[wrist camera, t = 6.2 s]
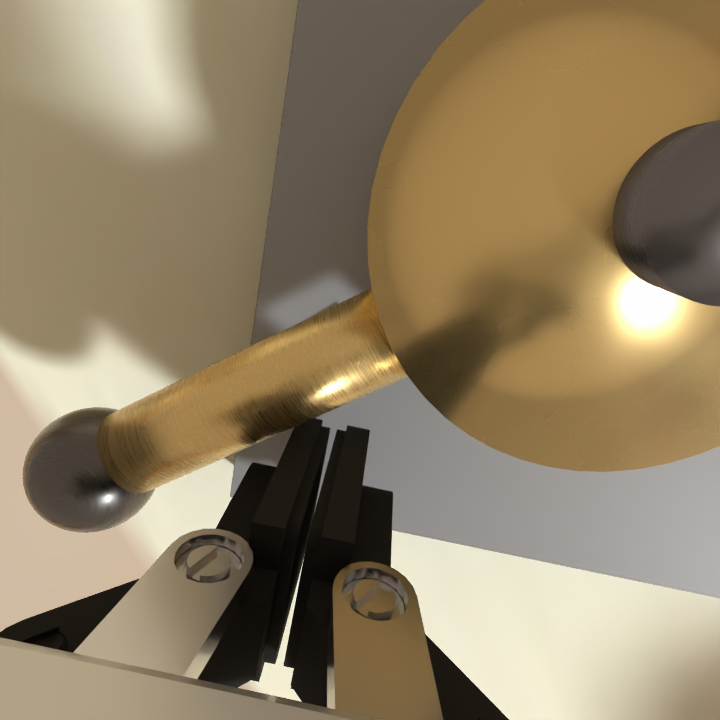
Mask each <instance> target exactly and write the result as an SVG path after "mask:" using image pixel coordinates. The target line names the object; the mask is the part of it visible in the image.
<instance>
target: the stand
mask: <svg viewBox="0 0 720 720" xmlns="http://www.w3.org/2000/svg"><path fill="white" fill-rule="evenodd" d="M484 1H485V0H298V7H297V14H296V22H295V29H294V36H293V43H292V51H291V58H290V65H289V72H288V80H287V87H286V94H285V101H284V109H283V116H282V123H281V130H280V138H279V145H278V152H277V159H276V167H275V174H274V181H273V188H272V196H271V203H270V210H269V217H268V225H267V232H266V239H265V246H264V254H263V261H262V268H261V275H260V283H259V290H258V297H257V304H256V312H255V319H254V326H253V333H252V341H251V346H252V345H254V344H256V343H258V342H260V341H262V340H265V339H267V338H269V337H271V336H273V335H275V334H277V333H279V332H281V331H283V330H285V329H287V328H289V327H291V326H293V325H296V324H298V323H300V322H302V321H304V320H306V319H308V318H310V317H312V316H314V315H316V314H318V313H320V312H322V311H324V310H327V309H329V308H331V307H333V306H335V305H337V304H339V303H341V302H343V301H345V300H347V299H349V298H351V297H353V296H356V295H358V294H360V293H362V292H364V291H366V290H368V289H370V288H371V281H370V273H369V266H368V245H367V224H368V216H369V208H370V200H371V192H372V187H373V183H374V179H375V175H376V171H377V167H378V163H379V159H380V155H381V152H382V149H383V147H384V144H385V142H386V139H387V137H388V134H389V132H390V129H391V126H392V124H393V121H394V119H395V116H396V115H397V113H398V111H399V109H400V107H401V105H402V103H403V102H404V100H405V98H406V96H407V94H408V92H409V90H410V89H411V87H412V85H413V83H414V81H415V80H416V78H417V77H418V76H419V74H420V73H421V71H422V70H423V68H424V67H425V66H426V64H427V63H428V61H429V60H430V59H431V57H432V56H433V54H434V53H435V51H436V50H437V49H438V47H439V46H440V45H441V44H442V43H443V42H444V41H445V40H446V39H447V37H448V36H449V35H450V34H451V33H452V32H453V31H454V30H455V29H456V27H457V26H458V25H459V24H460V23H461V22H462V21H463V20H464V19H465V18H466V16H468V15H469V14H470V13H471V12H472V11H473V10H475V9H476V8H477V7H478V6H479V5H480V4H481V3H483V2H484ZM316 419H320V420H323V423H322V426H324V427H329V428H330V434H329V439H328V444H327V449H326V455H325V460H324V465H323V470H322V475H321V481H320V486H319V491H318V496H317V502H318V498H319V494H320V490H321V487H322V483H323V479H324V476H325V472H326V468H327V465H328V461H329V457H330V454H331V450H332V446H333V442H334V439H335V435H336V431H337V429H338V430H343V431H346V429H347V425H349V426H354V427H359V428H363V429H368V430H370V434H369V442H368V449H367V456H366V463H365V470H364V478H363V485H364V486H369V487H373V488H378V489H383V490H388V491H392V492H393V513H392V530H394V531H399V532H404V533H408V534H413V535H418V536H423V537H428V538H432V539H437V540H442V541H447V542H452V543H456V544H461V545H466V546H471V547H476V548H481V549H485V550H490V551H495V552H500V553H505V554H509V555H514V556H519V557H524V558H529V559H534V560H538V561H543V562H548V563H553V564H558V565H562V566H567V567H572V568H577V569H582V570H587V571H591V572H596V573H601V574H606V575H611V576H615V577H620V578H625V579H630V580H635V581H639V582H644V583H649V584H654V585H659V586H664V587H668V588H673V589H678V590H683V591H688V592H692V593H697V594H702V595H707V596H712V597H717V598H720V446H718V447H716V448H713V449H711V450H708V451H706V452H704V453H701V454H698V455H695V456H692V457H688V458H685V459H682V460H679V461H675V462H672V463H668V464H663V465H658V466H653V467H648V468H643V469H636V470H624V471H612V472H594V471H574V470H566V469H559V468H552V467H547V466H543V465H539V464H535V463H532V462H528V461H524V460H520V459H518V458H515V457H513V456H510V455H508V454H505V453H503V452H500V451H498V450H495V449H493V448H491V447H489V446H488V445H486V444H484V443H482V442H480V441H479V440H477V439H475V438H473V437H471V436H470V435H468V434H467V433H465V432H464V431H463V430H461V429H460V428H458V427H457V426H456V425H454V424H453V423H452V422H450V421H449V420H448V419H446V418H445V417H444V416H443V415H442V414H441V413H440V412H439V411H438V410H437V409H436V408H435V407H434V406H433V405H432V404H431V403H430V402H429V401H428V400H427V399H425V397H424V396H423V395H422V394H421V392H420V391H419V390H418V389H417V387H416V386H415V385H414V383H413V382H412V381H411V380H410V378H409V377H407V378H405V379H402V380H400V381H398V382H395V383H393V384H391V385H389V386H386V387H384V388H382V389H380V390H377V391H375V392H373V393H370V394H368V395H366V396H364V397H361V398H359V399H357V400H355V401H352V402H350V403H348V404H345V405H343V406H341V407H339V408H336V409H334V410H332V411H330V412H327V413H325V414H323V415H320V416H318V417H316ZM293 429H294V427H293V428H291V429H289V430H286V431H284V432H282V433H279V434H277V435H275V436H273V437H270V438H268V439H266V440H264V441H261V442H259V443H257V444H254V445H252V446H250V447H248V448H245V449H243V450H241V451H239V452H236V457H235V464H234V471H233V478H232V486H231V493H230V497H233V496H234V494H235V492H236V490H237V488H238V487H239V485H240V483H241V481H242V479H243V477H244V476H245V474H246V472H247V470H248V468H249V466H250V465H251V463H253V462H255V463H260V464H265V465H269V466H274V467H277V465H278V462H279V460H280V458H281V456H282V453H283V451H284V449H285V447H286V445H287V442H288V440H289V438H290V436H291V433H292V431H293ZM317 502H316V505H317ZM315 509H316V507H315ZM314 513H315V512H314Z"/></svg>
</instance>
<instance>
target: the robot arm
mask: <svg viewBox="0 0 720 720" xmlns="http://www.w3.org/2000/svg"><path fill="white" fill-rule="evenodd" d="M322 423H323V420H320V419H316V418H314V419H311V420H309V421H307V422H305V423H302V424H300V425H298V426H295V427H294V429H293V431H292V433H291V436H290V438H289V440H288V442H287V445H286V447H285V449H284V451H283V453H282V456H281V458H280V460H279V462H278V465H277V467H274V466H269V465H265V464H260V463H255V462H253V463H251V465H250V466H249V468H248V470H247V472H246V474H245V476H244V477H243V479H242V481H241V483H240V485H239V487H238V488H237V490H236V492H235V494H234V496H233V498H232V500H231V501H230V503H229V505H228V507H227V509H226V511H225V512H224V514H223V516H222V518H221V520H220V522H219V524H218V525H217V527H216V529H201V530H196V531H192V532H189V533H187V534H185V535H183V536H181V537H179V538H178V539H177V540H176V541H174V542H173V543H172V544H171V545H170V546H169V547H168V548H167V549H166V550H165V551H164V553H163V554H162V555H161V556H160V557H159V558H158V559H157V560H156V561H155V563H154V564H153V565H152V566H151V567H150V568H149V569H148V570H147V571H146V573H145V574H144V575H143V576H142V577H141V578H140V579H137V580H134V581H131V582H129V583H126V584H123V585H120V586H117V587H114V588H112V589H109V590H106V591H103V592H100V593H98V594H95V595H92V596H89V597H87V598H84V599H81V600H78V601H75V602H72V603H69V604H67V605H64V606H61V607H58V608H55V609H53V610H50V611H47V612H44V613H42V614H39V615H36V616H33V617H30V618H27V619H25V620H22V621H20V622H18V623H16V624H14V625H11V626H9V627H8V628H6V629H4V630H3V631H2V632H0V720H509V719H508V718H507V717H506V716H505V715H504V714H503V713H502V712H501V711H500V710H499V709H498V708H497V707H496V706H495V705H494V704H493V703H492V702H491V701H490V700H489V699H488V698H487V697H486V696H485V695H484V694H483V693H482V692H481V691H480V690H479V689H478V688H477V687H476V686H475V684H474V683H473V682H472V681H471V680H470V679H469V678H468V677H467V676H466V675H465V674H464V673H463V672H462V671H461V670H460V669H459V668H458V667H457V666H456V665H455V664H454V663H453V662H452V661H451V660H450V659H449V658H448V657H447V656H446V655H445V654H444V653H443V652H442V651H441V650H440V649H439V648H438V647H437V646H436V645H435V644H434V643H433V642H432V641H431V639H430V638H429V637H428V636H427V635H426V634H425V632H424V627H423V622H422V618H421V613H420V608H419V604H418V599H417V596H416V593H415V591H414V588H413V586H412V585H411V584H410V582H409V581H408V580H407V579H406V577H405V576H403V575H402V574H401V573H399V572H398V571H397V570H395V569H393V568H391V540H392V513H393V492H392V491H388V490H383V489H378V488H373V487H369V486H364V485H363V478H364V470H365V463H366V456H367V449H368V442H369V434H370V430H368V429H363V428H359V427H354V426H349V425H347V429H346V431H343V430H338V429H337V431H336V435H335V439H334V442H333V446H332V450H331V454H330V457H329V461H328V465H327V468H326V472H325V476H324V479H323V483H322V487H321V490H320V494H319V498H318V502H317V496H318V491H319V486H320V481H321V475H322V470H323V465H324V460H325V455H326V449H327V444H328V439H329V434H330V428H329V427H324V426H322ZM316 502H317V505H316ZM315 507H316V509H315ZM314 512H315V513H314ZM304 555H305V556H304ZM303 559H304V561H303ZM302 562H303V566H302ZM301 566H302V572H301V577H300V582H299V587H298V593H297V598H296V603H295V608H294V614H293V619H292V624H291V629H290V635H289V640H288V645H287V650H286V656H285V661H284V666H286V667H291V668H294V672H293V677H292V682H291V689H294V690H295V692H296V693H297V695H298V696H299V698H300V699H301V701H302V702H299V701H295V700H290V699H286V698H281V697H277V696H272V695H267V694H263V693H258V692H254V691H249V690H245V689H240V688H238V687H239V686H241V685H243V684H245V683H247V682H248V681H250V680H253V681H258V682H259V679H260V676H261V673H262V669H263V666H264V662H267V663H272V664H275V663H276V659H277V656H278V652H279V648H280V645H281V641H282V637H283V633H284V630H285V626H286V622H287V618H288V615H289V611H290V607H291V603H292V600H293V596H294V592H295V589H296V585H297V581H298V577H299V574H300V570H301Z"/></svg>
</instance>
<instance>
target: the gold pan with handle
mask: <svg viewBox="0 0 720 720" xmlns="http://www.w3.org/2000/svg"><path fill="white" fill-rule="evenodd" d="M367 245H368V266H369V273H370V281H371V288H370V289H368V290H366V291H364V292H362V293H360V294H358V295H356V296H353V297H351V298H349V299H347V300H345V301H343V302H341V303H339V304H337V305H335V306H333V307H331V308H329V309H327V310H324V311H322V312H320V313H318V314H316V315H314V316H312V317H310V318H308V319H306V320H304V321H302V322H300V323H298V324H296V325H293V326H291V327H289V328H287V329H285V330H283V331H281V332H279V333H277V334H275V335H273V336H271V337H269V338H267V339H265V340H262V341H260V342H258V343H256V344H254V345H252V346H250V347H248V348H246V349H244V350H242V351H240V352H238V353H236V354H233V355H231V356H229V357H227V358H225V359H223V360H221V361H219V362H217V363H215V364H213V365H211V366H209V367H207V368H205V369H202V370H200V371H198V372H196V373H194V374H192V375H190V376H188V377H186V378H184V379H182V380H180V381H178V382H176V383H174V384H171V385H169V386H167V387H165V388H163V389H161V390H159V391H157V392H155V393H153V394H151V395H149V396H147V397H145V398H143V399H140V400H138V401H136V402H134V403H132V404H130V405H128V406H126V407H124V408H122V409H120V410H116V409H111V408H102V407H94V408H85V409H80V410H76V411H73V412H71V413H68V414H66V415H63V416H62V417H60V418H58V419H57V420H55V421H53V422H52V423H51V424H50V425H48V426H47V427H46V428H45V429H44V430H42V432H41V433H40V434H39V435H38V436H37V438H36V439H35V440H34V442H33V443H32V445H31V447H30V449H29V451H28V453H27V455H26V458H25V462H24V467H23V485H24V489H25V493H26V495H27V498H28V500H29V502H30V504H31V505H32V506H33V508H34V510H35V511H36V512H37V513H38V514H39V515H40V516H41V517H42V518H44V519H45V520H46V521H48V522H49V523H51V524H52V525H55V526H57V527H59V528H61V529H64V530H69V531H75V532H86V533H87V532H96V531H102V530H106V529H109V528H112V527H115V526H117V525H119V524H121V523H123V522H125V521H127V520H128V519H130V518H131V517H132V516H134V515H135V514H136V513H137V512H138V511H139V510H140V509H141V508H142V507H143V506H144V505H145V504H146V503H147V501H148V500H149V499H150V497H151V495H152V494H153V492H154V490H155V488H157V487H159V486H161V485H163V484H166V483H168V482H170V481H173V480H175V479H177V478H179V477H182V476H184V475H186V474H189V473H191V472H193V471H195V470H198V469H200V468H202V467H204V466H207V465H209V464H211V463H214V462H216V461H218V460H220V459H223V458H225V457H227V456H229V455H232V454H234V453H236V452H239V451H241V450H243V449H245V448H248V447H250V446H252V445H254V444H257V443H259V442H261V441H264V440H266V439H268V438H270V437H273V436H275V435H277V434H279V433H282V432H284V431H286V430H289V429H291V428H293V427H295V426H298V425H300V424H302V423H305V422H307V421H309V420H311V419H314V418H316V417H318V416H320V415H323V414H325V413H327V412H330V411H332V410H334V409H336V408H339V407H341V406H343V405H345V404H348V403H350V402H352V401H355V400H357V399H359V398H361V397H364V396H366V395H368V394H370V393H373V392H375V391H377V390H380V389H382V388H384V387H386V386H389V385H391V384H393V383H395V382H398V381H400V380H402V379H405V378H407V377H409V378H410V380H411V381H412V382H413V383H414V385H415V386H416V387H417V389H418V390H419V391H420V392H421V394H422V395H423V396H424V397H425V399H427V400H428V401H429V402H430V403H431V404H432V405H433V406H434V407H435V408H436V409H437V410H438V411H439V412H440V413H441V414H442V415H443V416H444V417H445V418H446V419H448V420H449V421H450V422H452V423H453V424H454V425H456V426H457V427H458V428H460V429H461V430H463V431H464V432H465V433H467V434H468V435H470V436H471V437H473V438H475V439H477V440H479V441H480V442H482V443H484V444H486V445H488V446H489V447H491V448H493V449H495V450H498V451H500V452H503V453H505V454H508V455H510V456H513V457H515V458H518V459H520V460H524V461H528V462H532V463H535V464H539V465H543V466H547V467H552V468H559V469H566V470H574V471H594V472H612V471H624V470H636V469H643V468H648V467H653V466H658V465H663V464H668V463H672V462H675V461H679V460H682V459H685V458H688V457H692V456H695V455H698V454H701V453H704V452H706V451H708V450H711V449H713V448H716V447H718V446H720V0H485V1H484V2H483V3H481V4H480V5H479V6H478V7H477V8H476V9H475V10H473V11H472V12H471V13H470V14H469V15H468V16H466V18H465V19H464V20H463V21H462V22H461V23H460V24H459V25H458V26H457V27H456V29H455V30H454V31H453V32H452V33H451V34H450V35H449V36H448V37H447V39H446V40H445V41H444V42H443V43H442V44H441V45H440V46H439V47H438V49H437V50H436V51H435V53H434V54H433V56H432V57H431V59H430V60H429V61H428V63H427V64H426V66H425V67H424V68H423V70H422V71H421V73H420V74H419V76H418V77H417V78H416V80H415V81H414V83H413V85H412V87H411V89H410V90H409V92H408V94H407V96H406V98H405V100H404V102H403V103H402V105H401V107H400V109H399V111H398V113H397V115H396V116H395V119H394V121H393V124H392V126H391V129H390V132H389V134H388V137H387V139H386V142H385V144H384V147H383V149H382V152H381V155H380V159H379V163H378V167H377V171H376V175H375V179H374V183H373V187H372V192H371V200H370V208H369V216H368V224H367Z"/></svg>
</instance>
